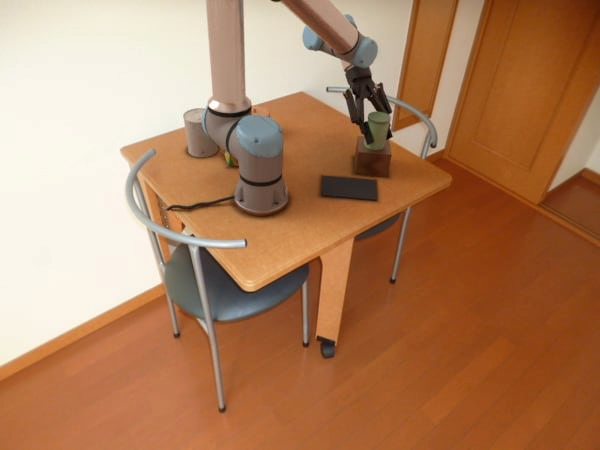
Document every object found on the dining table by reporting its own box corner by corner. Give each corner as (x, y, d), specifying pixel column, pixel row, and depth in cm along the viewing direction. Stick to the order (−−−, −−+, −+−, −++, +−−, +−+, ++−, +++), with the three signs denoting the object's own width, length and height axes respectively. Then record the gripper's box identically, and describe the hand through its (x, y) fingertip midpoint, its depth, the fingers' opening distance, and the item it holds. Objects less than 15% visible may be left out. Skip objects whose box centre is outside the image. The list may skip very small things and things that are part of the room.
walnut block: (355, 174, 131) (358, 151, 126) (354, 157, 138) (357, 135, 133) (386, 176, 131) (391, 154, 125) (384, 159, 138) (389, 138, 133)
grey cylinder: (183, 154, 135) (177, 119, 127) (195, 140, 142) (191, 106, 134) (210, 159, 133) (207, 124, 125) (222, 144, 140) (219, 110, 132)
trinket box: (272, 126, 151) (272, 102, 145) (267, 141, 143) (267, 116, 137) (243, 124, 152) (242, 99, 146) (236, 138, 144) (235, 113, 138)
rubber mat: (321, 196, 121) (321, 194, 121) (322, 176, 129) (323, 175, 129) (376, 200, 121) (376, 199, 121) (374, 181, 128) (374, 179, 128)
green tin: (363, 149, 127) (368, 120, 121) (363, 138, 132) (367, 110, 126) (385, 151, 127) (391, 122, 120) (384, 140, 132) (389, 112, 125)
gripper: (375, 69, 133) (397, 138, 133) (323, 78, 125) (347, 151, 126) (388, 58, 126) (412, 130, 126) (335, 67, 119) (360, 144, 119)
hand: (380, 140), depth 126 cm, fingers closed on green tin, 6 cm apart
